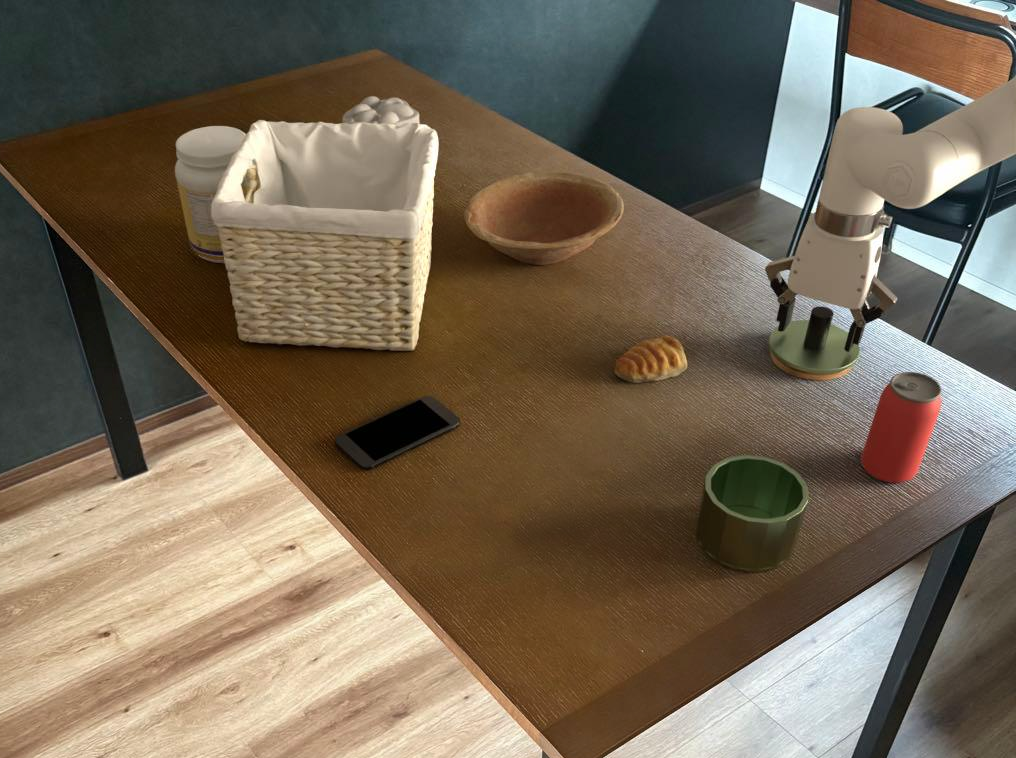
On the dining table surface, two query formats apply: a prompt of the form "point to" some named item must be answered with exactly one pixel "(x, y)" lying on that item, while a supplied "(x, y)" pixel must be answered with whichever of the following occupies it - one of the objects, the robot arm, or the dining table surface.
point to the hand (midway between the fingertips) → (816, 336)
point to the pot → (751, 513)
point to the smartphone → (396, 432)
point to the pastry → (652, 360)
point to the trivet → (807, 374)
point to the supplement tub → (204, 181)
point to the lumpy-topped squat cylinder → (382, 112)
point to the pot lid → (814, 344)
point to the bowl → (543, 215)
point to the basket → (329, 232)
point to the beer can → (902, 427)
